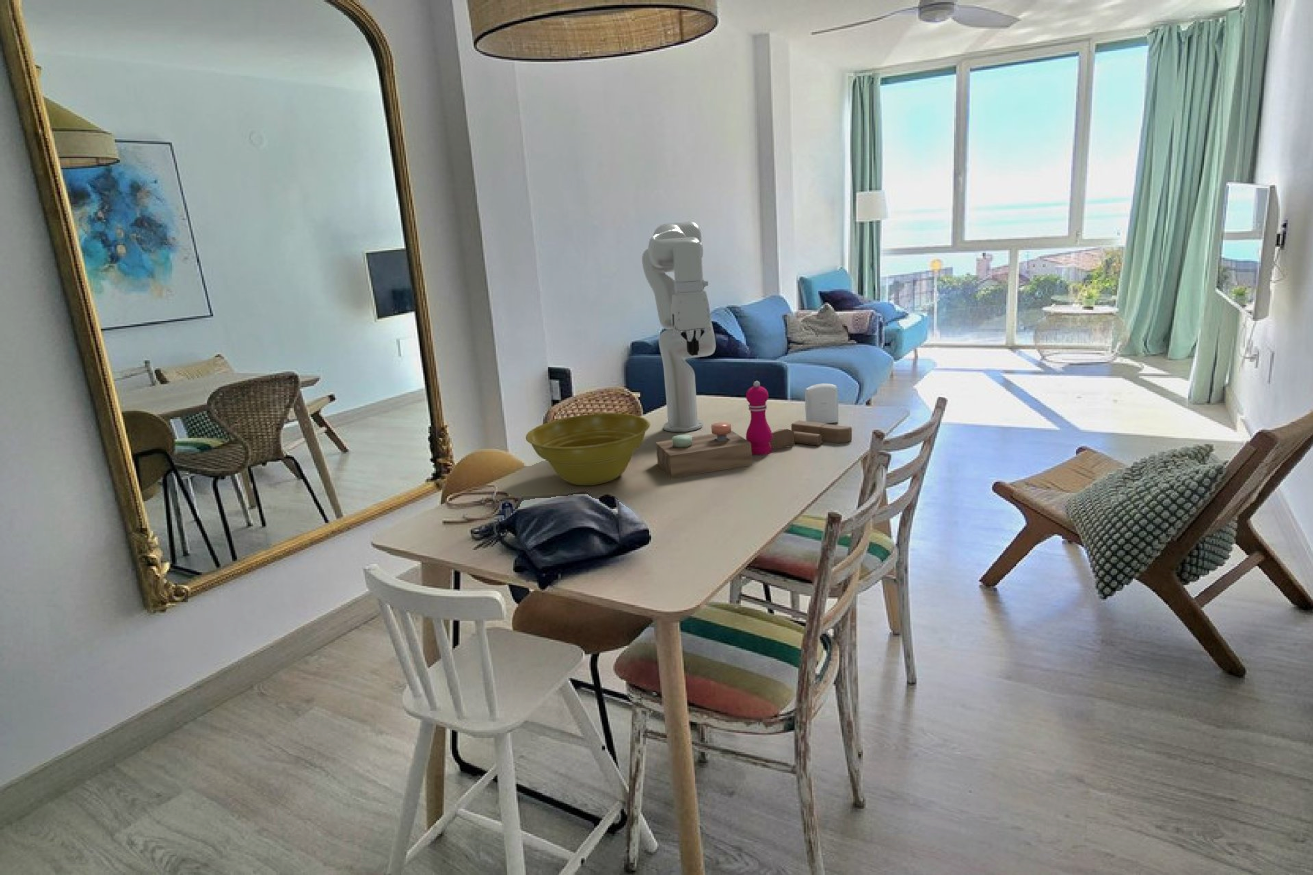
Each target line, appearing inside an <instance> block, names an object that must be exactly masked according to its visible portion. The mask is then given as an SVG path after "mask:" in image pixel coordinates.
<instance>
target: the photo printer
mask: <svg viewBox="0 0 1313 875" xmlns="http://www.w3.org/2000/svg"><path fill="white" fill-rule="evenodd" d="M804 402H805V403H804V407H805V421H809V422H818V423H826V424H833V423H838V422H839V390H838V387H837V385H835V384H832V383H817V384H813V385H811V386H809V387H807V388H805V390H804Z"/></svg>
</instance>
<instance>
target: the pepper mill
mask: <svg viewBox="0 0 1313 875" xmlns="http://www.w3.org/2000/svg"><path fill="white" fill-rule="evenodd" d="M745 395H746V396H745V400H746V401H747V402H748V403H749V404H748V410H749V411H750V412H749V413H750V422H749V425H748V427H747V430H746V434H745V439H746V440H747V441H749V442H750V443H751V453H752V455H753V456H760V455H761V456H763V455H768V454H770V453H772V449H771V445H770V444H769V442H770V441H771V440H772V432H773V431H772V429H771V427H770V426H769V423H768V421H767V418H766V417H767V416H766V410H767V409H768V407H767V406H768V404H767V401H768V399H769V391H768V390H767V389H766V388H765V387H764V386H761V383H760V381H758V380H756V381H753V386H752V387H750V388H749V389H747V391H746V394H745Z"/></svg>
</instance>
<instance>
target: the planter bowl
mask: <svg viewBox="0 0 1313 875" xmlns="http://www.w3.org/2000/svg"><path fill="white" fill-rule="evenodd" d="M650 423H651V422H650V421H649V420H648V419H647V418H644V417H643V416H642V417H641V416H639V415H635V414H629V413H619V412H617V413H616V412H614V413H613V412H610V413H609V412H608V413H607V412H601V413H589V414H582V415H575V416H570V417H564V418H560V419H555V420H552V421H548V422H545V423H542V424H541V425H539V426H535V427H534V428H533V429H531V430H530V431H528V432H527V433H526V435H525V441H527V442H528V443H529V444H530V445H531V446H532V448H533V450H534V451H535V453H536V455H538V457H540V458H542V459H544V460H545V461H547V462H548V463H549V465H550V466H551V467H552V469H553V470H554V471H555V473H556V474H557V475H558V477H560V478H561V479H562V480H563V481H565V482H567V483H569V484H572V485H577V486H594V485H601V484H605V483H610V482H612V481H614V480H615V479H618V477H619V476H621V475H622V474H623V473H624V472H625V471H626V469H627V467H628V465H629V464H630V460H631V459H632V455H633V454H634V453H633V452H634V451H635V450H637V448H639V447H640V446H641V445H642V443H643V441H644V438H645V435H646V432H647V431H648V430H649V428H650V427H651V424H650Z"/></svg>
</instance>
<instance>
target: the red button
mask: <svg viewBox="0 0 1313 875" xmlns="http://www.w3.org/2000/svg"><path fill="white" fill-rule="evenodd" d="M731 431H732V423H730V422H724V421H723V422H722V421H721V422H716V423H712V424H711V434H715V435H717V442H723V441H727V434H729V433H731Z"/></svg>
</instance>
